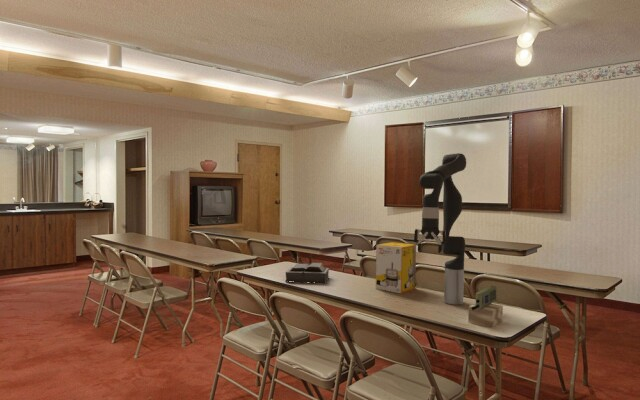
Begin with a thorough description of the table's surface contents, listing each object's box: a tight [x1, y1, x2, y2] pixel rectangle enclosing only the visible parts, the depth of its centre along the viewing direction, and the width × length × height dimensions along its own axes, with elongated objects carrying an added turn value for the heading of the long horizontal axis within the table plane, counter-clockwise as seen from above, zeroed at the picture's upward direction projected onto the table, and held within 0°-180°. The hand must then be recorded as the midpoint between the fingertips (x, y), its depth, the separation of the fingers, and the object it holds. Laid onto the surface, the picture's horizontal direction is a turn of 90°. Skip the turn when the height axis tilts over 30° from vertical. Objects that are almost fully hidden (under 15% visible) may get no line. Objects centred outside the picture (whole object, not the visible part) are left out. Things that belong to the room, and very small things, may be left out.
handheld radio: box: [472, 285, 497, 310], centre depth 194 cm, size 7×3×25 cm
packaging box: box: [375, 241, 417, 294], centre depth 254 cm, size 16×16×25 cm
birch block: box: [467, 303, 504, 328], centre depth 193 cm, size 12×10×7 cm
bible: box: [285, 262, 330, 284], centre depth 275 cm, size 23×27×10 cm
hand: (429, 252), depth 207 cm, fingers open, 8 cm apart
